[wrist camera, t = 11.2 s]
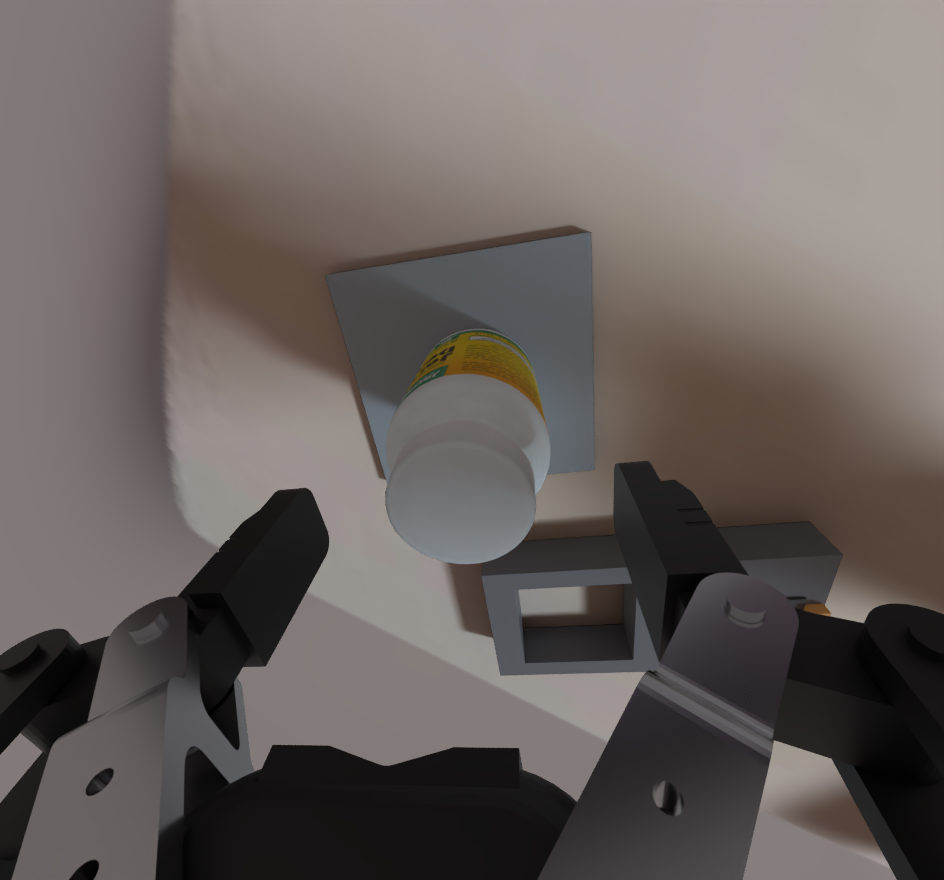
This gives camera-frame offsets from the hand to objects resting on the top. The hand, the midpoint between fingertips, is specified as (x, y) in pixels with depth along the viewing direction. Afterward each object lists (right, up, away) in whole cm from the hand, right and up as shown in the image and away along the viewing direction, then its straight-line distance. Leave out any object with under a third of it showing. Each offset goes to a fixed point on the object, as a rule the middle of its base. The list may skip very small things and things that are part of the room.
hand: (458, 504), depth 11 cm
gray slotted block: (+11, -8, +15) cm, 20 cm away
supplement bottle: (+1, +4, +9) cm, 10 cm away
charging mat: (0, +5, +9) cm, 10 cm away
